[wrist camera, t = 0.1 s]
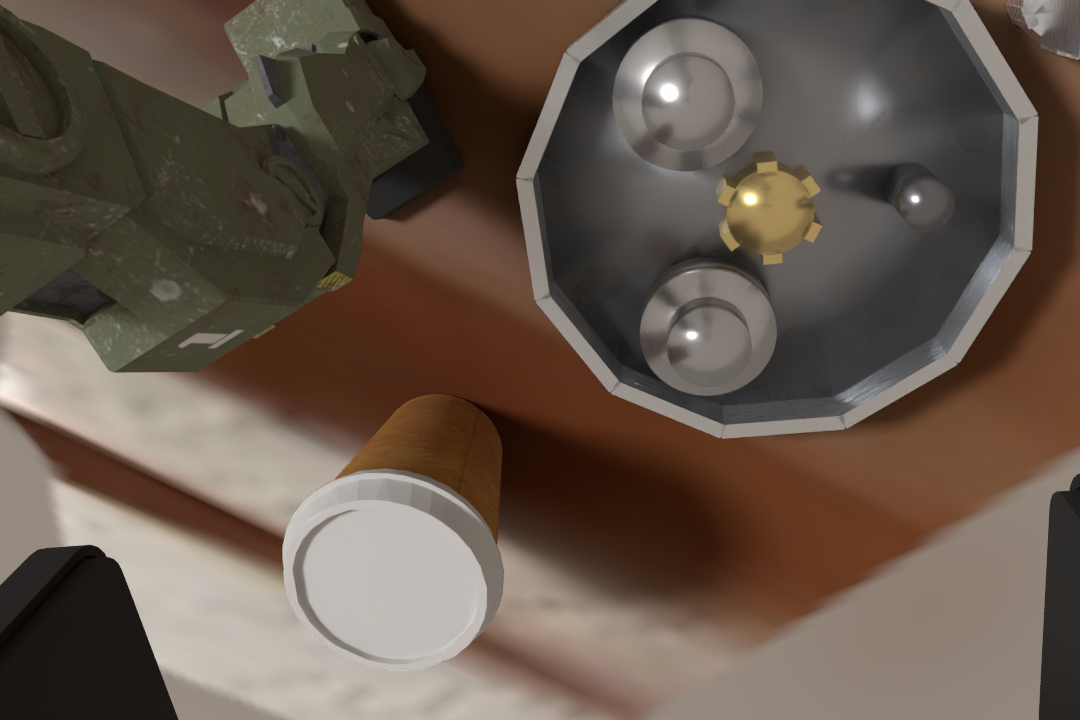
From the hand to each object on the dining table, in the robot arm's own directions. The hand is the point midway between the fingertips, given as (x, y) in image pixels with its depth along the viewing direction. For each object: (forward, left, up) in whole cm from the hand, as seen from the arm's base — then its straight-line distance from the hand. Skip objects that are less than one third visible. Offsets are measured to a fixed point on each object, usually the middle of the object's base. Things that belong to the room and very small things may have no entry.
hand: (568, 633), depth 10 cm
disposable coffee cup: (+17, -12, -37) cm, 42 cm away
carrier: (+6, +5, -37) cm, 37 cm away
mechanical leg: (-2, -13, -37) cm, 39 cm away
